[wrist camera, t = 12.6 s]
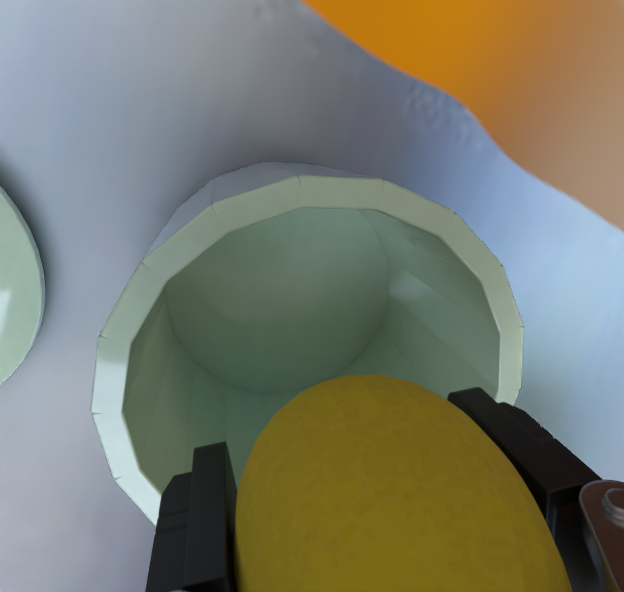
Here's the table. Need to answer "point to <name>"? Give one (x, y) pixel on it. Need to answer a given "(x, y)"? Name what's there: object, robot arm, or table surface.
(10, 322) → the pot lid
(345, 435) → the lemon
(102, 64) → the table surface
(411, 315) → the pot
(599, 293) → the table surface
